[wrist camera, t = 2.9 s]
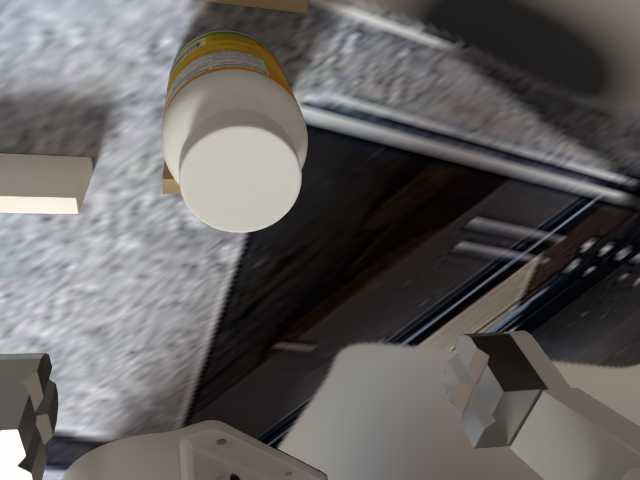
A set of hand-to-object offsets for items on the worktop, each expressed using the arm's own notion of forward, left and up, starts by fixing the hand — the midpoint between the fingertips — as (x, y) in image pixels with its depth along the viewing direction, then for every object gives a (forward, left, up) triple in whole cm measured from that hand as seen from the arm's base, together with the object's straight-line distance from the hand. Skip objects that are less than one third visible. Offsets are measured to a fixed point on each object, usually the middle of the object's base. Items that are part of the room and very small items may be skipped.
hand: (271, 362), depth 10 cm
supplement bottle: (0, 0, -18) cm, 18 cm away
